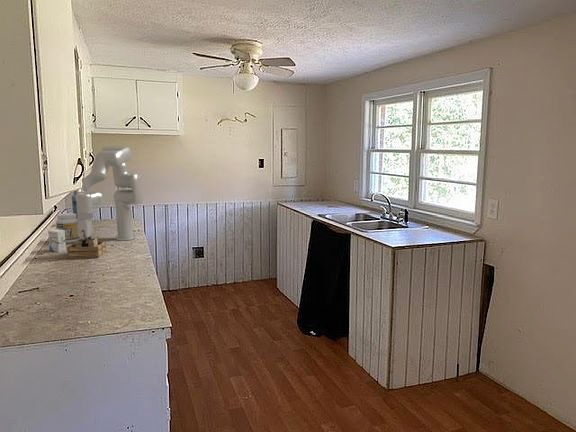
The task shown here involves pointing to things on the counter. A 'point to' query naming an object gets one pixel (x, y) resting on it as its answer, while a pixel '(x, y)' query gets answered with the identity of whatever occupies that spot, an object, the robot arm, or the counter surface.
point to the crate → (98, 250)
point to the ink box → (57, 240)
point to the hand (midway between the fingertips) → (87, 248)
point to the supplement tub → (68, 226)
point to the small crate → (90, 244)
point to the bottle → (74, 204)
